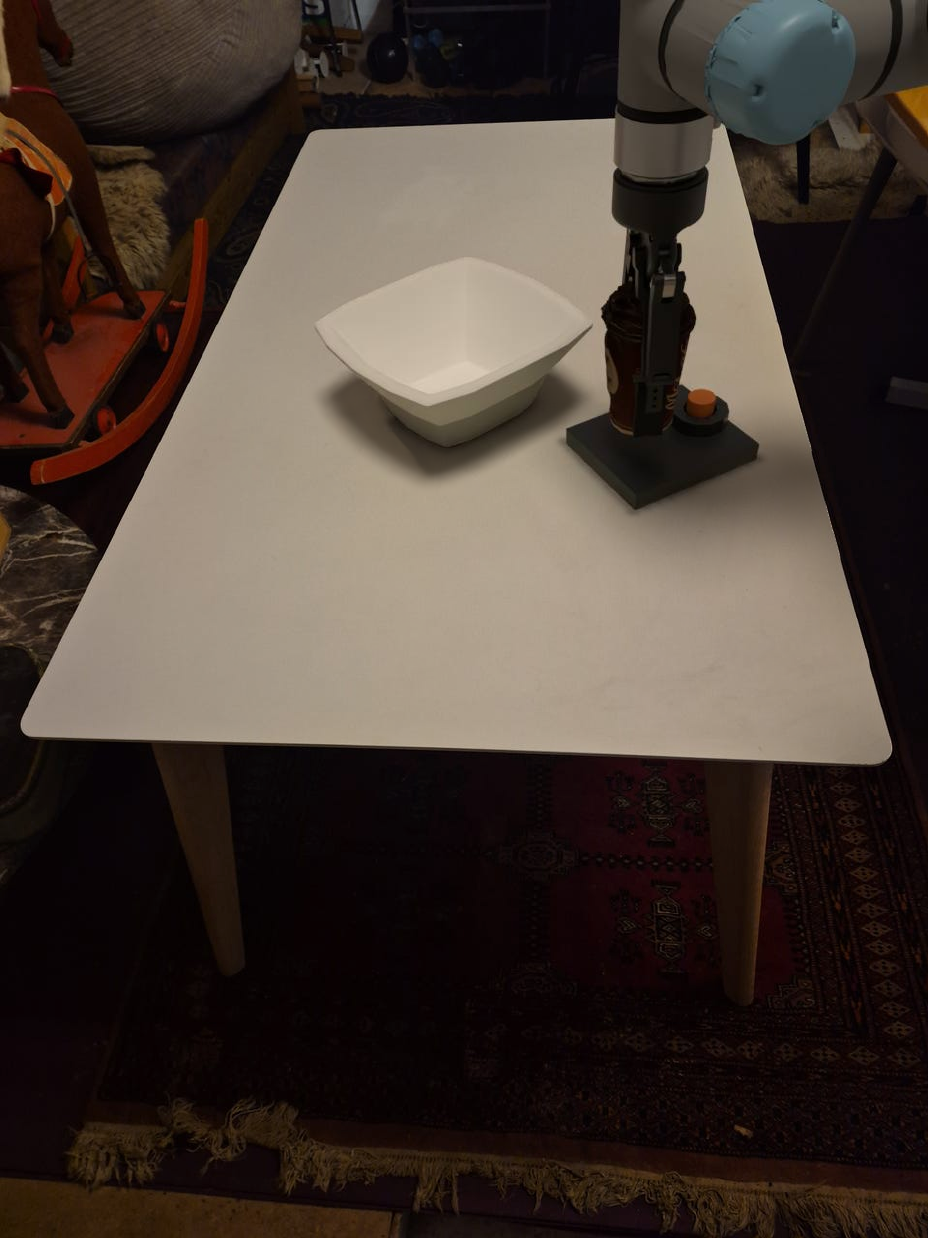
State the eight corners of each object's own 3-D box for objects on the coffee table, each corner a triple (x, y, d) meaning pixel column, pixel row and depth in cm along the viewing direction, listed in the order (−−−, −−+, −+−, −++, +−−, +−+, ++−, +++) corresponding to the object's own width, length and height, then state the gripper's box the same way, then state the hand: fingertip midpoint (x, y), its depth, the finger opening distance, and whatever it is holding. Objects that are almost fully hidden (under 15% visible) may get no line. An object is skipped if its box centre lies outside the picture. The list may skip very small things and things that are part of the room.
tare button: (702, 399, 91) (704, 385, 89) (719, 412, 89) (721, 398, 88) (680, 408, 90) (682, 394, 89) (697, 421, 88) (699, 407, 87)
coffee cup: (584, 434, 85) (588, 312, 75) (607, 388, 90) (614, 268, 80) (672, 450, 82) (688, 325, 73) (691, 401, 87) (708, 279, 77)
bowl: (610, 402, 97) (614, 318, 89) (431, 501, 88) (419, 417, 80) (479, 324, 111) (473, 246, 103) (313, 402, 102) (293, 323, 94)
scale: (681, 397, 97) (684, 370, 94) (757, 458, 89) (764, 430, 86) (565, 442, 93) (566, 415, 90) (634, 509, 85) (637, 482, 82)
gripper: (740, 216, 61) (700, 470, 78) (682, 116, 75) (658, 350, 92) (635, 226, 61) (617, 477, 78) (596, 124, 75) (588, 356, 92)
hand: (639, 408), depth 85 cm, fingers closed on coffee cup, 8 cm apart
